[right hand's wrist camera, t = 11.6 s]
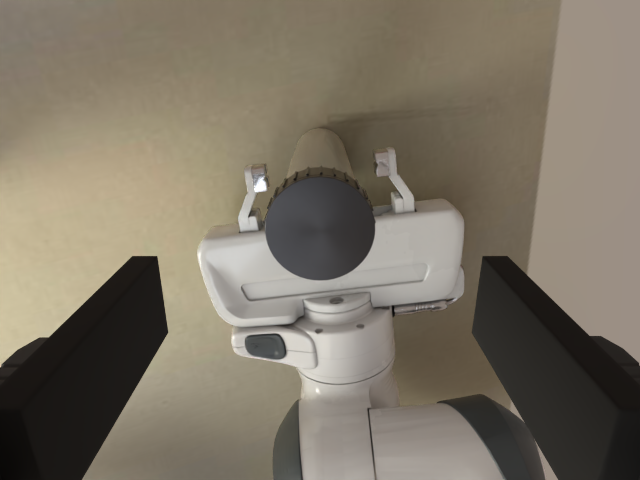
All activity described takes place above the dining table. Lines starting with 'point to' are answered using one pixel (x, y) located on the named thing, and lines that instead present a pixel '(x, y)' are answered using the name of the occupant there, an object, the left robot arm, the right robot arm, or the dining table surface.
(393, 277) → the left robot arm
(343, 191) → the lid
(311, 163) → the grey cylindrical container
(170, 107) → the dining table surface
